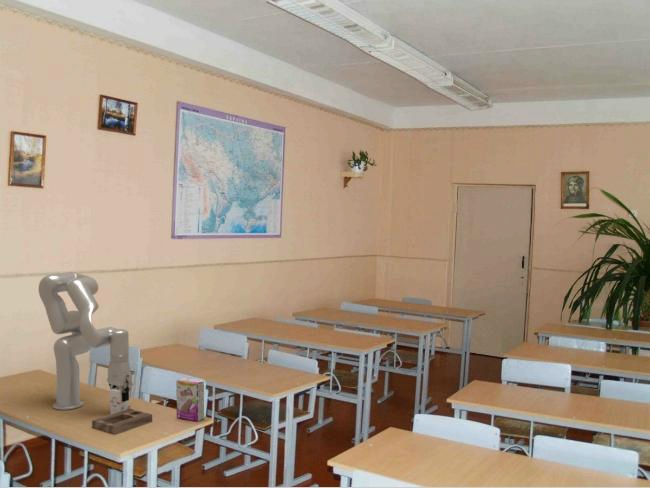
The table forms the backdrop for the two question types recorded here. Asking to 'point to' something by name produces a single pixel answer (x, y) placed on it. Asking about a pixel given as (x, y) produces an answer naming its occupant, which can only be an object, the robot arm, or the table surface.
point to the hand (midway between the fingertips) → (120, 399)
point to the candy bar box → (190, 399)
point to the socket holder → (121, 421)
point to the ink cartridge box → (118, 400)
